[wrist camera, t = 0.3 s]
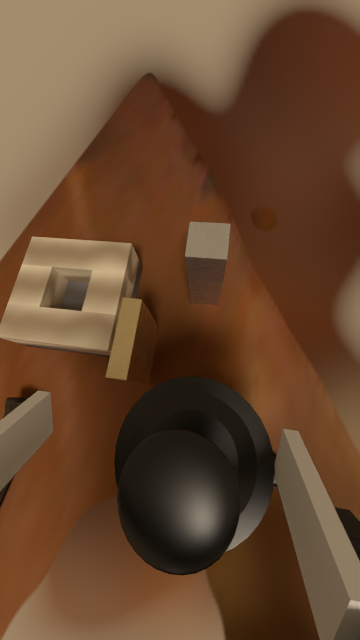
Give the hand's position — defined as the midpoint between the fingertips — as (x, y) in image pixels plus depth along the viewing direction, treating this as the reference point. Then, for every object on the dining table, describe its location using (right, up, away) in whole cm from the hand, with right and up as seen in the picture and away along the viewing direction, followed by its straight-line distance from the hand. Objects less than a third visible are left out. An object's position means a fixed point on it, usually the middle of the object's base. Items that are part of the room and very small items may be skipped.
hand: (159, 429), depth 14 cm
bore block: (-12, +8, +22) cm, 27 cm away
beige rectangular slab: (-3, +2, +19) cm, 20 cm away
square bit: (+5, +10, +21) cm, 24 cm away
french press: (+4, -7, +16) cm, 18 cm away
